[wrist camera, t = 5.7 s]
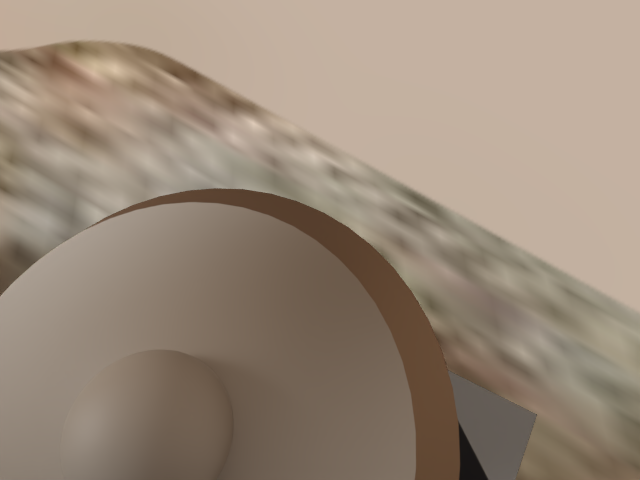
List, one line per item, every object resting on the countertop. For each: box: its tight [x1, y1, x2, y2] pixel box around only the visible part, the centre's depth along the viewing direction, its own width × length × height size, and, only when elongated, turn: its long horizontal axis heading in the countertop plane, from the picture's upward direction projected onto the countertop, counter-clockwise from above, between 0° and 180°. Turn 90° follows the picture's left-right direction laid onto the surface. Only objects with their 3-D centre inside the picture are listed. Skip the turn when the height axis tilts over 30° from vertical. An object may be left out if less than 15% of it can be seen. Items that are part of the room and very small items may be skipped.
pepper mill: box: [0, 189, 460, 480], centre depth 9 cm, size 6×6×13 cm
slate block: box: [448, 371, 537, 480], centre depth 18 cm, size 10×10×4 cm
